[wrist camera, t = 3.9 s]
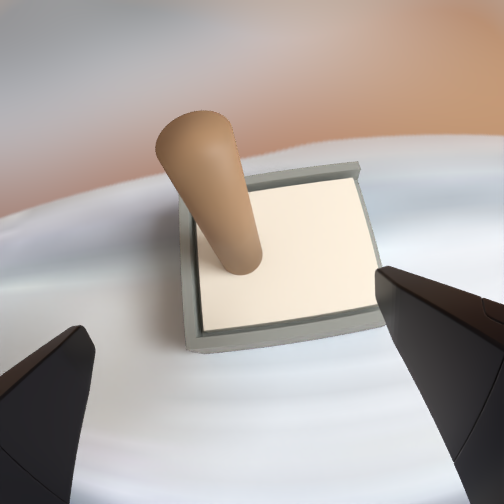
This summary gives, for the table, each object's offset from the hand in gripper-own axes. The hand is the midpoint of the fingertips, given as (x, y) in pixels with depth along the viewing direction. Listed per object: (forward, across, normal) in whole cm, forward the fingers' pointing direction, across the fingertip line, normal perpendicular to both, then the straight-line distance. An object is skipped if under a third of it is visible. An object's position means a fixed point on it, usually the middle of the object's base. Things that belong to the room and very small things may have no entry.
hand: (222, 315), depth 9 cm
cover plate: (+10, -3, +3) cm, 11 cm away
